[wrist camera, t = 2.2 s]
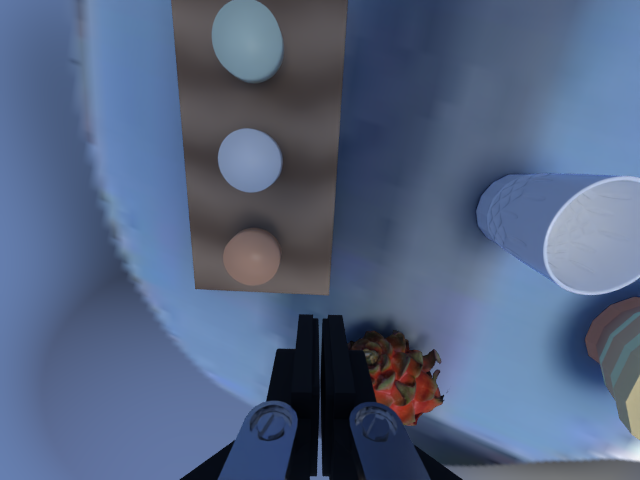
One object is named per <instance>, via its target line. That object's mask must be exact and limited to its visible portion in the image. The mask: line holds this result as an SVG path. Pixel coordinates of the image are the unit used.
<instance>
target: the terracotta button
mask: <svg viewBox="0 0 640 480" xmlns="http://www.w3.org/2000/svg"><path fill="white" fill-rule="evenodd" d="M281 258H282V251H281V247H280V244H279V242H278V241H277V239H276V238H275V237H274V236H273V235H272V234H271V233H269V232H268V231H266V230H263V229H260V228H248V229H244V230H242V231H240V232H239V233H237V234H236V235H235V236H234V237H233V238H232V239H231V240H230V241H229V242H228V244H227V245H226V247H225V249H224V253H223V262H224V266H225V268H226V270H227V272H228V273H229V275H230V276H231V277H232V278H233V279H235V280H236V281H238V282H240V283H242V284H245V285H251V286H255V285H261V284H264V283H266V282H268V281H269V280H270V279H272V278H273V277H274V275H275V274H276V272H277V270H278V267H279V264H280V262H281Z"/></svg>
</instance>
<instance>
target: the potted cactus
mask: <svg viewBox="0 0 640 480" xmlns="http://www.w3.org/2000/svg"><path fill="white" fill-rule="evenodd" d="M585 342H586V347H587V351H588V356H590V357H591V358H592V359H594V360H595V361H596V362H598V363H599V364H600V366H601V371H602V375H603V379H604V383H605V385H606V387H607V388H608V390H609V392H610V393H611V395H612V396H613V398H614V399H615V401H616V404H617V409H618V414H619V419H620V420H621V421H622V422H623V424H624V425H625V426H626V428H627V429H628V430H629V432H630V433H631V434H632V435H633V436H634V437H636V438H637V439H639V440H640V297H632V298H629V299H626V300H623V301H620V302H618V303H615V304H612V305H610V306H609V307H608V308H607V309H605V310H604V311H603V312H602V313H601V314H600V315H599V316H597V317H596V318H595V319H594V320H593V321H592V323H591V326H590V328H589V330H588V333H587V335H586V338H585Z"/></svg>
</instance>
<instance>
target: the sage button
mask: <svg viewBox="0 0 640 480" xmlns="http://www.w3.org/2000/svg"><path fill="white" fill-rule="evenodd" d="M212 44H213V48H214V51H215V54H216V56H217V58H218V60H219V61H220V63H221V64H222V65H223V66H224V67H225V68H226V69H227V70H228V71H229V72H230V73H232V74H233V75H234V76H235V77H236V78H238V79H240V80H242V81H244V82H247V83H261V82H264V81H266V80H268V79H270V78H271V77H272V76H273V75H275V73H276V72H277V71H278V69H279V68H280V66H281V63H282V60H283V56H284V42H283V38H282V34H281V31H280V29H279V26H278V23H277V21H276V19H275V17H274V16H273V14H272V13H271V11H270V10H269V9H268V8H267V7H266V6H264V5H263V4H262V3H260V2H258V1H256V0H232V1H230V2H228V3H227V4H226V5H224V6H223V7H222V8H221V9H220V11H219V12H218V14H217V15H216V17H215V20H214V23H213V27H212Z"/></svg>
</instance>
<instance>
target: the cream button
mask: <svg viewBox="0 0 640 480" xmlns="http://www.w3.org/2000/svg"><path fill="white" fill-rule="evenodd" d="M218 164H219V168H220V171H221V173H222V175H223V177H224V178H225V180H226V181H227V182H228V183H229V184H230V185H231V186H233V187H234V188H236V189H238V190H240V191H243V192H250V193H251V192H259V191H262V190H264V189H266V188H267V187H269V186H270V185H272V184H273V183H274V182H275V181H276V180H277V179H278V177H279V175H280V173H281V170H282V166H283V158H282V153H281V150H280V148H279V146H278V144H277V143H276V142H275V140H274V139H273V138H272V137H270V136H269V135H268V134H266V133H264V132H261V131H258V130H255V129H249V128H246V129H239V130H236V131H234V132H232V133H230V134H229V135H228V136H227V137H226V138H225V139H224V140H223V142H222V144H221V146H220V148H219V152H218Z"/></svg>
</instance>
